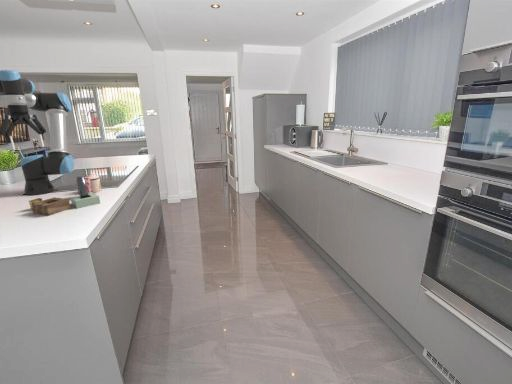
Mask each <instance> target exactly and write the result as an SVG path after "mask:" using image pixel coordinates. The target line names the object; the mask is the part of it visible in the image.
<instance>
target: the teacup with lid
mask: <svg viewBox="0 0 512 384" xmlns="http://www.w3.org/2000/svg"><path fill="white" fill-rule="evenodd" d="M87 176H88V178H89V179H90V181H91V186H92V191H93V193H94V194H95V193H99V192H101V191H102V185H101V179H100V178H101V177H100V176H99V175H96V174H93V173H92V172H90V173H88V175H87Z"/></svg>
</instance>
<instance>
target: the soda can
mask: <svg viewBox="0 0 512 384" xmlns="http://www.w3.org/2000/svg"><path fill="white" fill-rule="evenodd" d="M84 176H85V180H86V185H87V190H88V194H89V193H93V191H92V186H91V181H90V179H89V178H88V175H84ZM75 183H76V187H77V193H78V195H80V192H79V187H78V182H77V179H76V182H75Z"/></svg>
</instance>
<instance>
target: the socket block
mask: <svg viewBox="0 0 512 384" xmlns="http://www.w3.org/2000/svg"><path fill="white" fill-rule="evenodd" d="M47 202H49V204H48V203H47ZM32 208H33V209H32V212H33V214H37V215H43V216H53V215H55V214H58V213H61V212H64V211H67V210H70V209H72V208H71V201H70V199H69V198H62V197H61V198H60V197H56V196H55V197H51V198H47V199H44V200H43V199H42V201H39V202H36V203H32Z"/></svg>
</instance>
